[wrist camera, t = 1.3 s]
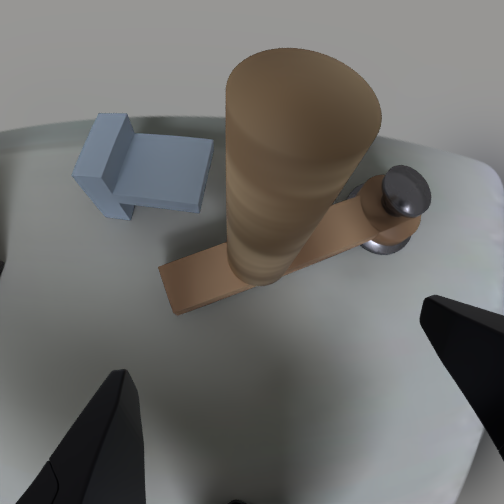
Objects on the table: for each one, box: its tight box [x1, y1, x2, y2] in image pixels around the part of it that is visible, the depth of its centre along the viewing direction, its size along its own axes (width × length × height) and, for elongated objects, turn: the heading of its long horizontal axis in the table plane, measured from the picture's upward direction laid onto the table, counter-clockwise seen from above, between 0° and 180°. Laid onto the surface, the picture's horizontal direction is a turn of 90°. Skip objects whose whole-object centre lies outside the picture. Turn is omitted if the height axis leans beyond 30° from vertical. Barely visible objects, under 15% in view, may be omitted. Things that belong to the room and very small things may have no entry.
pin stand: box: [347, 165, 431, 255], centre depth 20 cm, size 6×6×5 cm
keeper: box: [71, 113, 214, 220], centre depth 19 cm, size 7×4×6 cm, turn 82°
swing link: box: [158, 48, 421, 316], centre depth 14 cm, size 18×5×14 cm, turn 112°
